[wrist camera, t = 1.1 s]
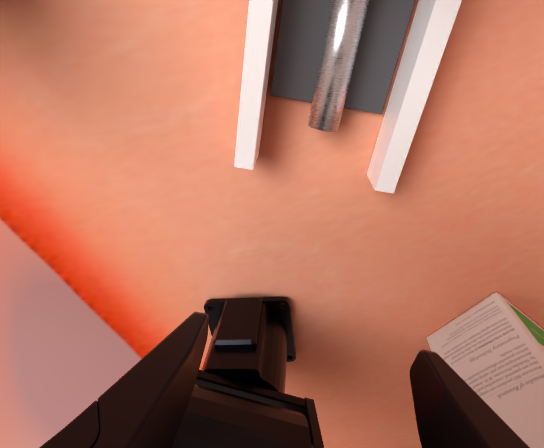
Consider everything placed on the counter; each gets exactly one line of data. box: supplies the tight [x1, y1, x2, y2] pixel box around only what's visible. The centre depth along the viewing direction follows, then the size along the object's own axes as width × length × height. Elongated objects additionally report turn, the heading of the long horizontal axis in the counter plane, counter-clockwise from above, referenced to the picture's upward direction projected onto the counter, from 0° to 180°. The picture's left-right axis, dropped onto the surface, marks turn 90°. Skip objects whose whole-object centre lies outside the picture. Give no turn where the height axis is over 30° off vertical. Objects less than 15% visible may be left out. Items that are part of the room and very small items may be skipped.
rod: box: [308, 0, 369, 132], centre depth 15 cm, size 8×2×2 cm, turn 172°
